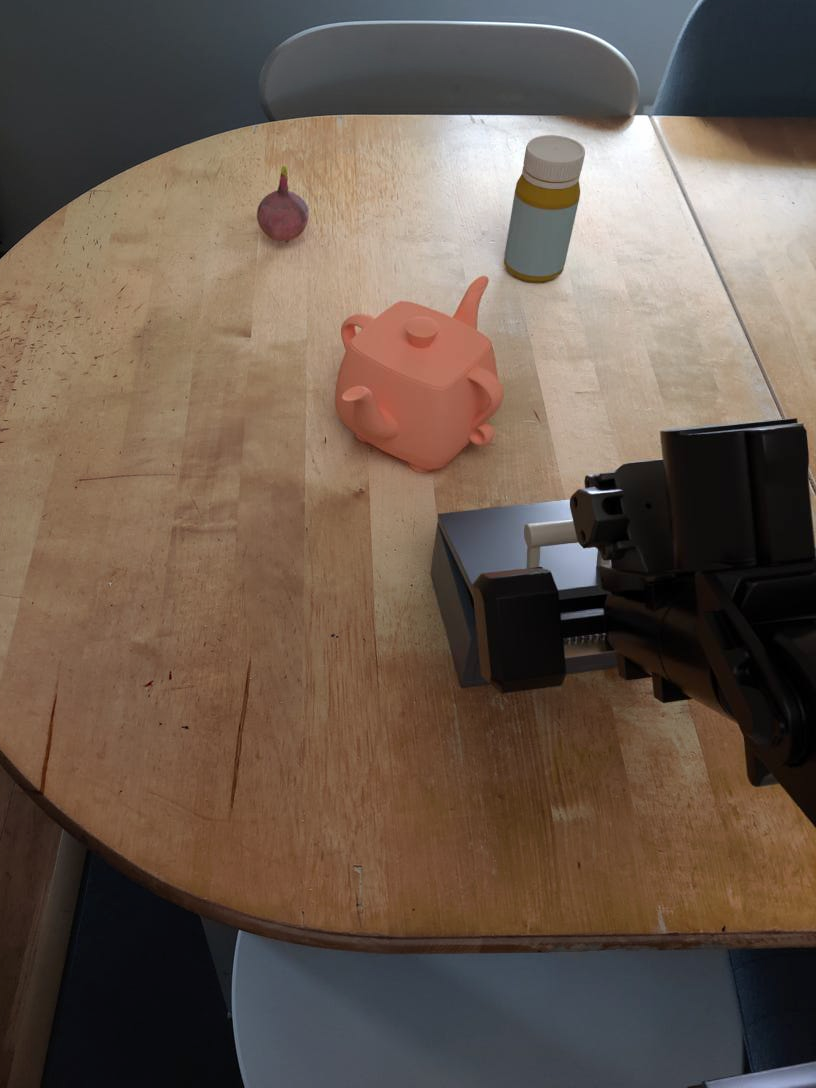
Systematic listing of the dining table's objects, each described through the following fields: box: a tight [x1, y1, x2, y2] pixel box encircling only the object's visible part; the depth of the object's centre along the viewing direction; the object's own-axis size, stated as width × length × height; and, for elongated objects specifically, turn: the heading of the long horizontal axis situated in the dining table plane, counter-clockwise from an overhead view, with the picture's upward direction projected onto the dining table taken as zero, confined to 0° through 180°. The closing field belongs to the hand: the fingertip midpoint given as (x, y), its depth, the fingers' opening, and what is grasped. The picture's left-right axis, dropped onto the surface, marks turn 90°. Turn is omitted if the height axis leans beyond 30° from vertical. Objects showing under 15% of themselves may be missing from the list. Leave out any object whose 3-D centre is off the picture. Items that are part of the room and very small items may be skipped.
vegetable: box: [256, 165, 310, 244], centre depth 104 cm, size 6×6×10 cm
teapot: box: [334, 275, 505, 473], centre depth 81 cm, size 15×17×13 cm
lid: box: [437, 498, 611, 600], centre depth 63 cm, size 11×14×5 cm
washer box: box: [430, 521, 618, 689], centre depth 68 cm, size 11×14×7 cm
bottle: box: [503, 134, 586, 284], centre depth 99 cm, size 7×7×15 cm
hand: (588, 589), depth 57 cm, fingers open, 9 cm apart
